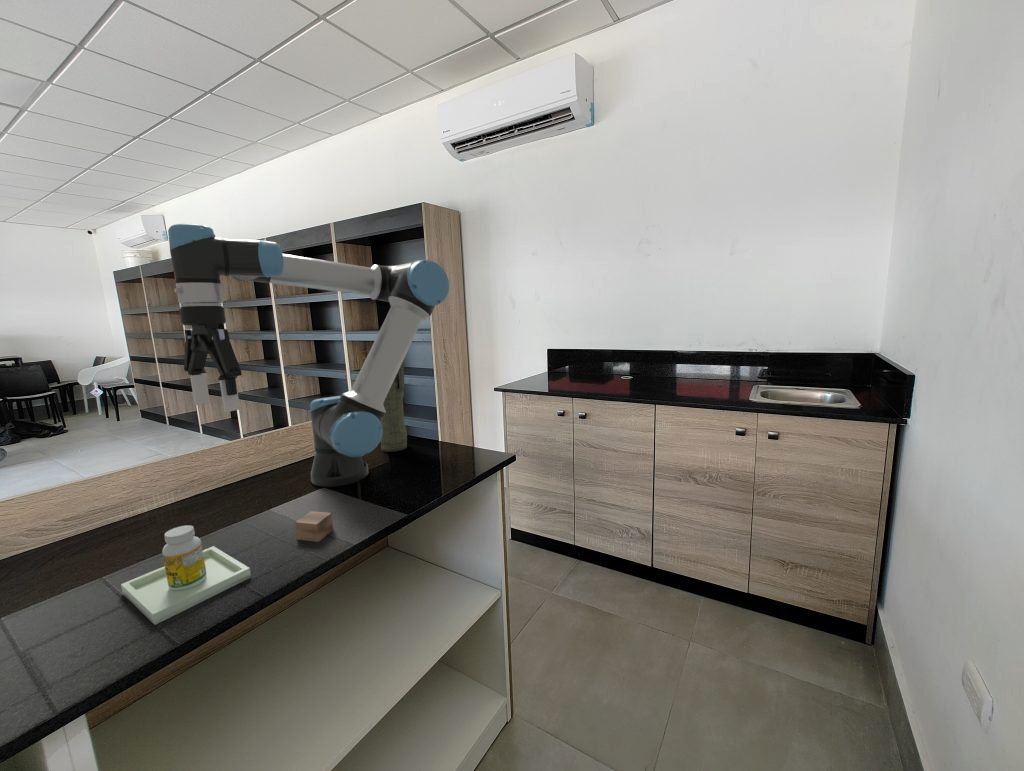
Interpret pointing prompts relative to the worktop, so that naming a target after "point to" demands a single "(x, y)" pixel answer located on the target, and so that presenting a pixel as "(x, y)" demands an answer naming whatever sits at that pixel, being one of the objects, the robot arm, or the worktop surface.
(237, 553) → the worktop surface
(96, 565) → the worktop surface
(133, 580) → the tray
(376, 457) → the worktop surface
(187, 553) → the supplement bottle
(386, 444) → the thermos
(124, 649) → the worktop surface
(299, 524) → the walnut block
